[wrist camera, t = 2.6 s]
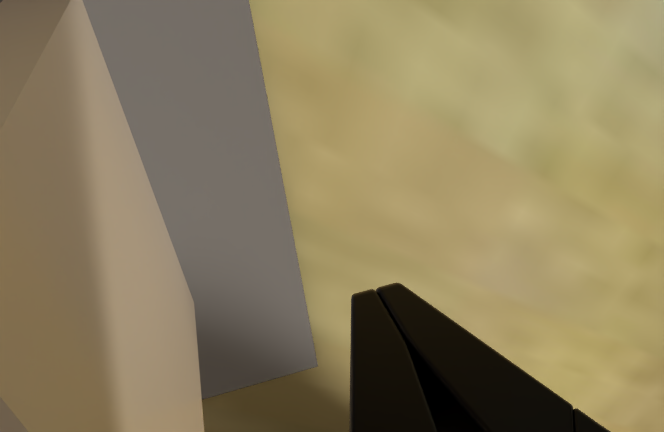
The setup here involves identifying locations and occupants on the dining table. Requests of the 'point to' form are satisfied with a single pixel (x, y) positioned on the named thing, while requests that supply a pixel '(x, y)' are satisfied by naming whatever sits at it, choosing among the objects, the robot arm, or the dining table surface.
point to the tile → (83, 246)
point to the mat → (213, 178)
